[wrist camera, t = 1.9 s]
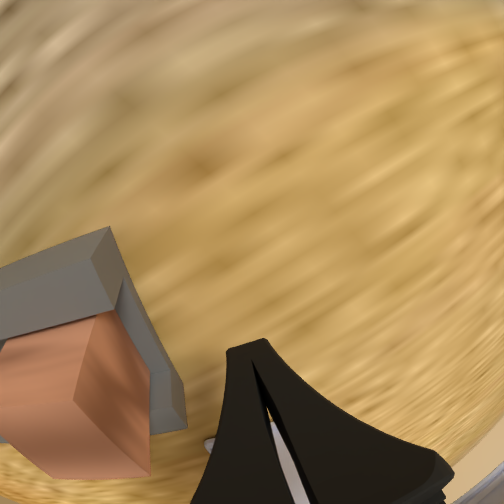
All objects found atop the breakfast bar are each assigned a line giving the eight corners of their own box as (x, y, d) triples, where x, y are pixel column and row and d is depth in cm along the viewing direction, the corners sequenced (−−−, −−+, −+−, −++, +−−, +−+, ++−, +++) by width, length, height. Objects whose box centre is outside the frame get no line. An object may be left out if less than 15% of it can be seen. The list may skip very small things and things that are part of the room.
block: (149, 371, 14) (151, 476, 9) (71, 386, 13) (53, 478, 8) (105, 289, 12) (72, 400, 6) (21, 314, 11) (-27, 408, 6)
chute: (183, 383, 16) (187, 429, 13) (-17, 410, 14) (-28, 441, 11) (109, 226, 12) (89, 259, 9) (-88, 311, 9) (-110, 338, 7)
